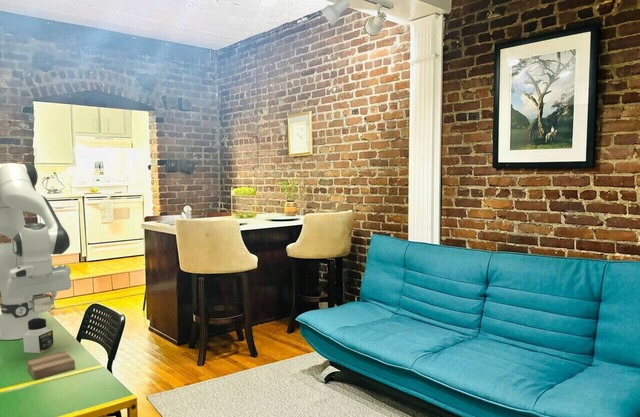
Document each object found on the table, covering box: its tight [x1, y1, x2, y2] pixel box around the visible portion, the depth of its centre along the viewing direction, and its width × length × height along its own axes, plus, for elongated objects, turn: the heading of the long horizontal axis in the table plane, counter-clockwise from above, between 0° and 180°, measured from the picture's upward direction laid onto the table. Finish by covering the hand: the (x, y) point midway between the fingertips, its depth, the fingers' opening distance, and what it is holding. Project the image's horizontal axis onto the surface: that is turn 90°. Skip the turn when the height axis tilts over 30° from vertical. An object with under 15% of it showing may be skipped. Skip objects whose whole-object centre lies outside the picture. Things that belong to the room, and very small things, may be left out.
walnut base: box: [26, 350, 76, 381], centre depth 164 cm, size 12×12×3 cm
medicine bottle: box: [22, 317, 55, 354], centre depth 182 cm, size 7×7×12 cm
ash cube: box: [31, 294, 52, 314], centre depth 173 cm, size 5×5×5 cm
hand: (41, 306), depth 173 cm, fingers closed on ash cube, 5 cm apart
